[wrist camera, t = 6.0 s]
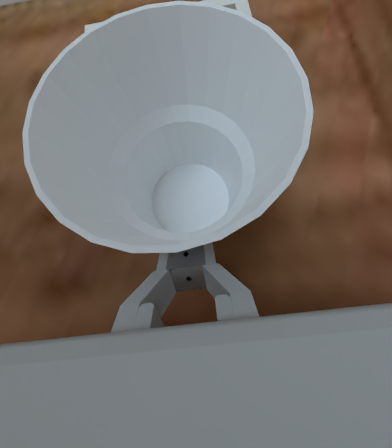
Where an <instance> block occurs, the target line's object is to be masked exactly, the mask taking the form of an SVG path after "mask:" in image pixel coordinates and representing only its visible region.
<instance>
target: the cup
mask: <svg viewBox="0 0 392 448" xmlns="http://www.w3.org/2000/svg"><path fill="white" fill-rule="evenodd" d="M313 112H314V111H313V105H312V100H311V94H310V89H309V83H308V78H307V76H306V74H305V72H304V70H303V69H302V67H301V65H300V63H299V61H298V59H297V58H296V56H295V54H294V52H293V50H292V49H291V48H290V47H289V46H288V45H287V44H286V43H285V42H284V41H283V40H282V39H281V38H280V37H279V36H278V35H277V34H276V33H275V32H274V31H273V30H272V29H271V28H270V27H268V26H266V25H265V24H263V23H261V22H259V21H257V20H256V19H254V18H252V17H250V16H249V15H247V14H245V13H243V12H241V11H238V10H234V9H231V8H227V7H224V6H220V5H216V4H213V3H204V2H190V1H173V2H165V3H157V4H149V5H145V6H142V7H139V8H135V9H132V10H129V11H126V12H123V13H120V14H117V15H115V16H113V17H111V18H109V19H107V20H105V21H104V22H102V23H100V24H98V25H96V26H94V27H92V28H90V29H89V30H87V31H86V32H85V33H83V34H82V35H81V36H80V37H79V38H77V39H76V40H75V41H74V42H72V43H71V44H70V45H69V46H67V47H66V48H65V49H64V50H63V51H62V52H61V53H60V54H59V56H58V57H57V58H56V59H55V60H54V62H53V63H52V64H51V65H50V67H49V68H48V69H47V70H46V71H45V73H44V74H43V76H42V78H41V80H40V82H39V84H38V85H37V87H36V89H35V91H34V93H33V95H32V97H31V99H30V101H29V105H28V109H27V114H26V118H25V123H24V127H23V132H22V135H23V151H24V165H25V167H26V170H27V172H28V175H29V177H30V180H31V183H32V185H33V188H34V190H35V193H36V195H37V196H38V198H39V199H40V200H41V201H42V202H43V204H44V205H45V206H46V207H47V208H48V210H49V211H50V212H51V213H52V214H53V216H54V217H55V218H56V219H57V220H58V222H60V223H61V224H63V225H64V226H66V227H68V228H69V229H71V230H72V231H74V232H76V233H77V234H79V235H80V236H82V237H84V238H85V239H87V240H88V241H90V242H92V243H96V244H99V245H103V246H107V247H111V248H114V249H118V250H122V251H125V252H129V253H176V252H180V251H184V250H187V249H191V248H194V247H198V246H201V245H204V244H208V243H211V242H215V241H218V240H222V239H223V238H225V237H227V236H228V235H230V234H231V233H233V232H235V231H236V230H238V229H240V228H241V227H243V226H245V225H246V224H248V223H250V222H251V221H253V220H254V219H256V218H258V217H259V216H261V215H262V214H263V213H264V212H265V211H266V209H267V208H268V207H269V206H270V205H271V204H272V203H273V202H274V201H275V200H276V199H277V198H278V197H279V196H280V194H281V193H282V192H283V191H284V190H285V189H286V188H287V187H288V186H289V185H290V184H291V182H292V180H293V178H294V176H295V174H296V172H297V170H298V168H299V166H300V164H301V161H302V159H303V157H304V155H305V153H306V151H307V149H308V146H309V139H310V133H311V126H312V119H313Z"/></svg>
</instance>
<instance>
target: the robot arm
mask: <svg viewBox="0 0 392 448" xmlns="http://www.w3.org/2000/svg"><path fill="white" fill-rule="evenodd" d="M205 288H207V290H208V291H209V293H210V294H211V295H212V296H213V298H214V299H215V304H216V313H217V321H215V322H206V323H196V324H187V325H177V326H168V327H164V325H163V323H162V320H161V317H162V316H163V314H164V312H165V311H166V309H167V307H168V306H169V304H170V303H171V301H172V299H173V298H174V296H175V294H176V292H179V291H186V290H191V289H192V290H194V289H205ZM0 448H392V303H385V304H375V305H366V306H356V307H347V308H338V309H328V310H319V311H309V312H300V313H290V314H281V315H271V316H262V317H259V314H258V311H257V308H256V305H255V302H254V299H253V297H252V294H251V291H250V290H249V289H248V288H247V287H246V286H244V285H243V284H242V283H241V282H240V281H239V280H237V279H236V278H235V277H234V276H233V275H232V274H231V273H229V272H228V271H227V270H226V269H225V268H224V267H222V266H221V265H220V264H219V263H218V264H216V260H215V254H214V248H213V244H212V243H208V244H204V245H201V246H198V247H194V248H191V249H187V250H184V251H180V252H176V253H160V254H159V258H158V263H157V268H156V271H153V272H152V273H151V274H150V275H149V276H148V277H147V278H146V279H145V280H144V281H143V283H142V284H141V285H140V286H139V287H138V288H137V289H136V290H135V291H134V292H133V293H132V294H131V295H130V296H129V297H128V298H127V299H126V300H125V301H124V302H123V303H122V304H121V305H120V308H119V311H118V314H117V316H116V319H115V322H114V325H113V327H112V330H111V333H102V334H92V335H83V336H73V337H64V338H54V339H45V340H35V341H26V342H16V343H7V344H0Z"/></svg>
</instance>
